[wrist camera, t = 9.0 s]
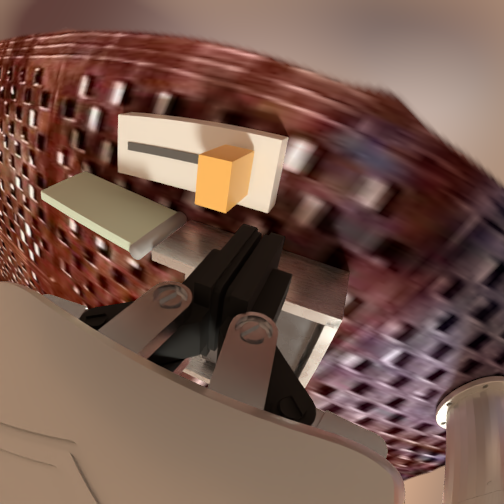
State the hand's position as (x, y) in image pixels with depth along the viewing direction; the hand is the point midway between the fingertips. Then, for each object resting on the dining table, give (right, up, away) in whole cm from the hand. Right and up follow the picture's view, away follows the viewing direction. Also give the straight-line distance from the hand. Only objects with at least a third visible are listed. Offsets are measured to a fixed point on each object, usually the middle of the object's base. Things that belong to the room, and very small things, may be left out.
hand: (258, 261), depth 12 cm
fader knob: (-1, +7, +10) cm, 12 cm away
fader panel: (-5, +9, +13) cm, 17 cm away
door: (-14, +7, +18) cm, 24 cm away
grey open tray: (0, -6, +20) cm, 20 cm away
